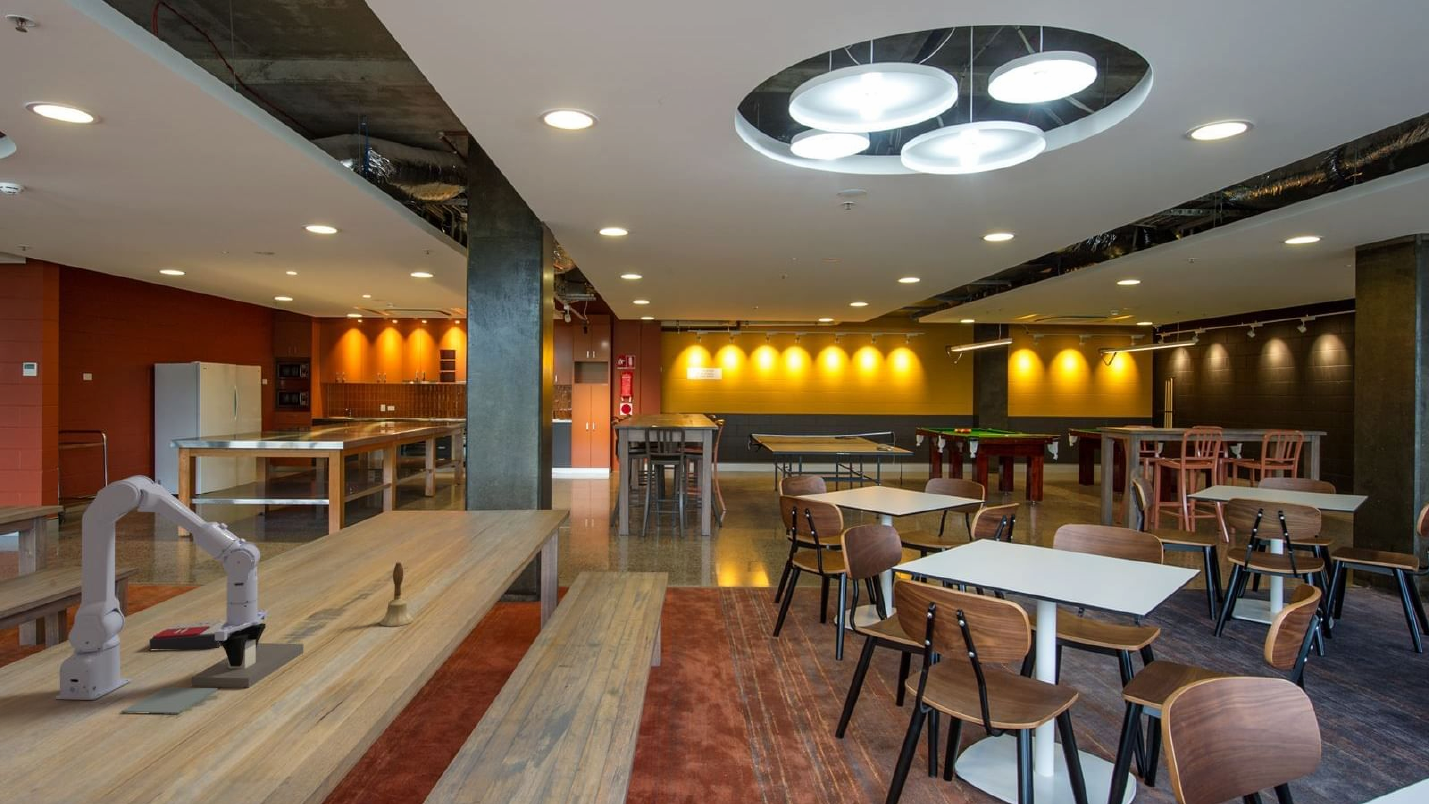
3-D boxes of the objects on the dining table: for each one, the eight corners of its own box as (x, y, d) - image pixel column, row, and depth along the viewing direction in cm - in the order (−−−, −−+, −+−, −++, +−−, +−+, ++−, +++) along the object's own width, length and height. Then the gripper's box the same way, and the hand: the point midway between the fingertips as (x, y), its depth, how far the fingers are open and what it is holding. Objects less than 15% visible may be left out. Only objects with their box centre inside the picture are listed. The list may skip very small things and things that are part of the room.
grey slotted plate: (248, 687, 152) (248, 678, 152) (191, 686, 152) (191, 677, 152) (303, 652, 172) (303, 644, 172) (252, 651, 172) (252, 643, 172)
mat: (178, 714, 139) (178, 712, 139) (121, 713, 139) (121, 711, 139) (217, 690, 150) (217, 688, 150) (164, 689, 150) (164, 687, 150)
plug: (244, 677, 157) (245, 645, 157) (228, 677, 157) (228, 645, 157) (255, 670, 161) (255, 639, 161) (239, 670, 161) (239, 639, 161)
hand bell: (404, 615, 201) (404, 557, 200) (419, 621, 195) (419, 562, 195) (374, 622, 194) (374, 563, 194) (389, 629, 189) (389, 568, 189)
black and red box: (175, 621, 182) (240, 616, 184) (176, 638, 182) (241, 633, 184) (148, 636, 171) (217, 631, 173) (149, 654, 171) (218, 649, 174)
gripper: (238, 611, 151) (238, 675, 152) (280, 591, 166) (280, 650, 166) (204, 610, 151) (204, 675, 152) (249, 590, 166) (249, 649, 166)
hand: (242, 662), depth 159 cm, fingers closed on plug, 4 cm apart
